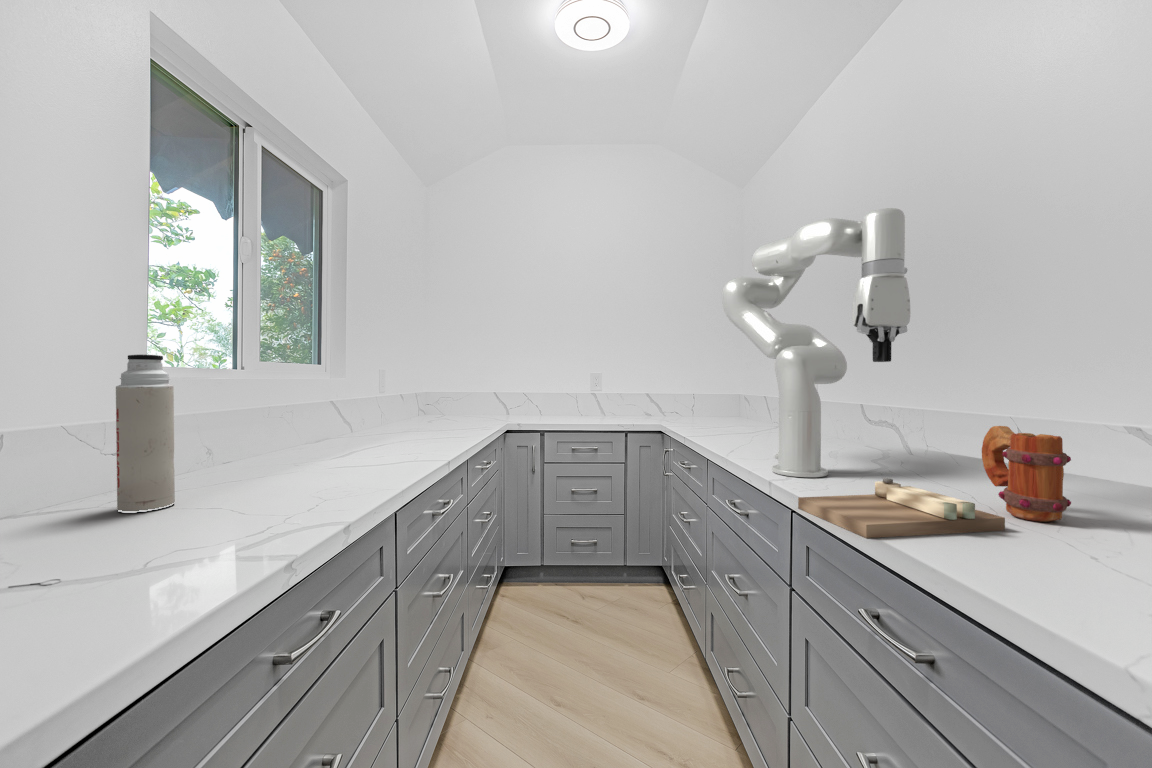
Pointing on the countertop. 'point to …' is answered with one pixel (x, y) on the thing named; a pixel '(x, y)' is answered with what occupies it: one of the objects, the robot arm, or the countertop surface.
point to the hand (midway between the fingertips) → (881, 361)
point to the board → (891, 517)
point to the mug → (1027, 472)
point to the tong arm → (916, 500)
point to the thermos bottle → (145, 435)
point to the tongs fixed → (963, 507)
